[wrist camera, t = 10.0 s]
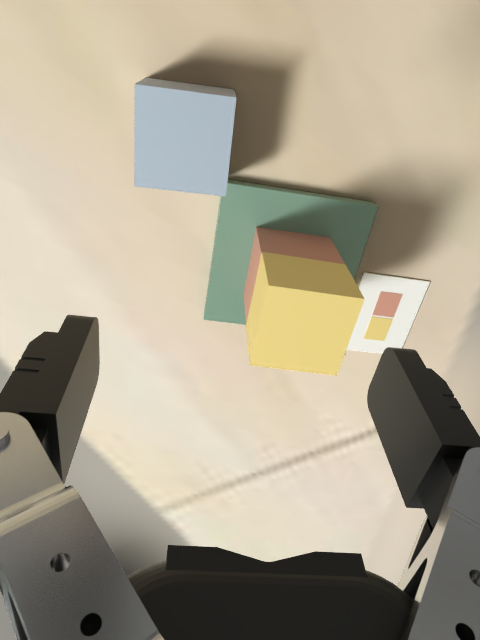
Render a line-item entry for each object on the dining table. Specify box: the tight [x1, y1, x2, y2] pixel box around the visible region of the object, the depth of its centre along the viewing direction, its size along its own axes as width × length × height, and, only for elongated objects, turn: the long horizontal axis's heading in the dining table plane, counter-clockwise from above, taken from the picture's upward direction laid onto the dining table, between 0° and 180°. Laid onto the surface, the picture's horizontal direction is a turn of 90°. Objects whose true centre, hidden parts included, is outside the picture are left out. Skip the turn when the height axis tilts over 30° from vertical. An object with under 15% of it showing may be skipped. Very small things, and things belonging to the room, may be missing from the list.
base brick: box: [243, 227, 345, 323], centre depth 35 cm, size 6×6×5 cm
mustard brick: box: [246, 252, 365, 376], centre depth 31 cm, size 6×6×5 cm
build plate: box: [204, 180, 378, 325], centre depth 38 cm, size 12×12×1 cm
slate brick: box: [134, 78, 237, 196], centre depth 31 cm, size 6×6×5 cm
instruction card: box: [346, 272, 430, 354], centre depth 42 cm, size 8×6×1 cm
